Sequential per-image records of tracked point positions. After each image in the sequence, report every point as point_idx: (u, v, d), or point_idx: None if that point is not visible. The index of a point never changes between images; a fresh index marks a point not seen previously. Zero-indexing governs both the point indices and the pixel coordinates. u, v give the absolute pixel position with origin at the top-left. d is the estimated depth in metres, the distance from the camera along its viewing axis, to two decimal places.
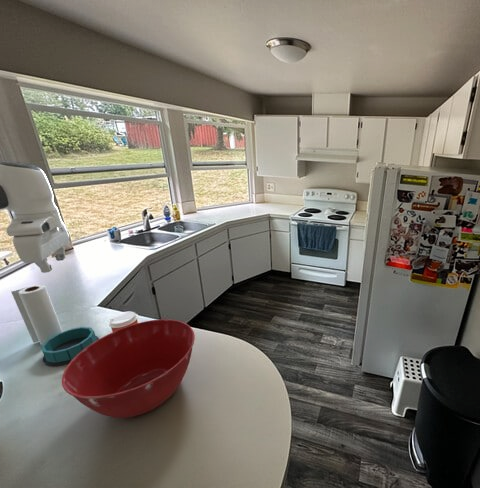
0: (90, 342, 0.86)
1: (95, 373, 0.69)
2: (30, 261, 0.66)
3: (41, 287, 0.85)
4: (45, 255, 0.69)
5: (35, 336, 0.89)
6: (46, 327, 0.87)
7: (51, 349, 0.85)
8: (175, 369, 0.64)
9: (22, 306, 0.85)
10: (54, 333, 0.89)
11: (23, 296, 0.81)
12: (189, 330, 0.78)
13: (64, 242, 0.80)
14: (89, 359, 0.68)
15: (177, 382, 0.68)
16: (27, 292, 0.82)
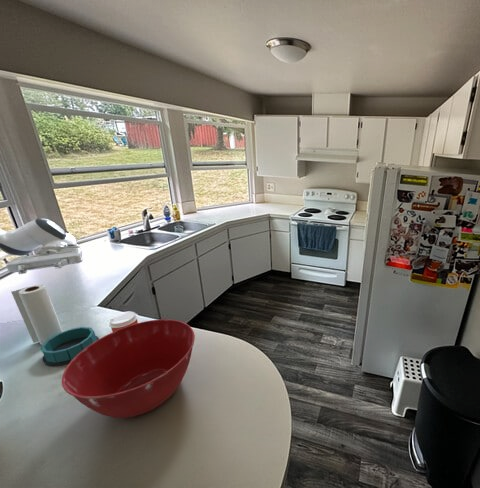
0: (90, 342, 0.86)
1: (95, 373, 0.69)
2: (79, 258, 1.00)
3: (41, 287, 0.85)
4: None
5: (35, 336, 0.89)
6: (46, 327, 0.87)
7: (51, 349, 0.85)
8: (175, 369, 0.64)
9: (22, 306, 0.85)
10: (54, 333, 0.89)
11: (23, 296, 0.81)
12: (189, 330, 0.78)
13: None
14: (89, 359, 0.68)
15: (177, 382, 0.68)
16: (27, 292, 0.82)
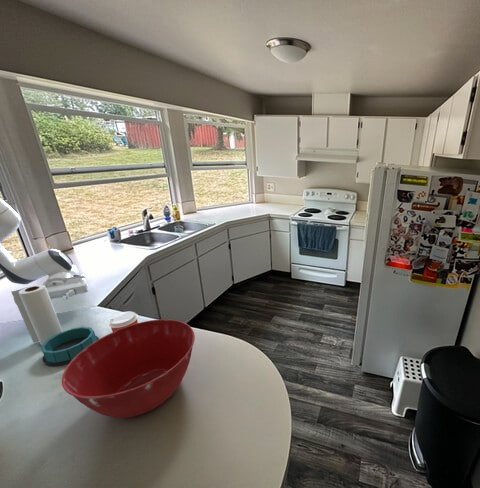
0: (90, 342, 0.86)
1: (95, 373, 0.69)
2: (85, 288, 1.03)
3: (41, 287, 0.85)
4: None
5: (35, 336, 0.89)
6: (46, 327, 0.87)
7: (51, 349, 0.85)
8: (175, 369, 0.64)
9: (22, 306, 0.85)
10: (54, 333, 0.89)
11: (23, 296, 0.81)
12: (189, 330, 0.78)
13: None
14: (89, 359, 0.68)
15: (177, 382, 0.68)
16: (27, 292, 0.82)
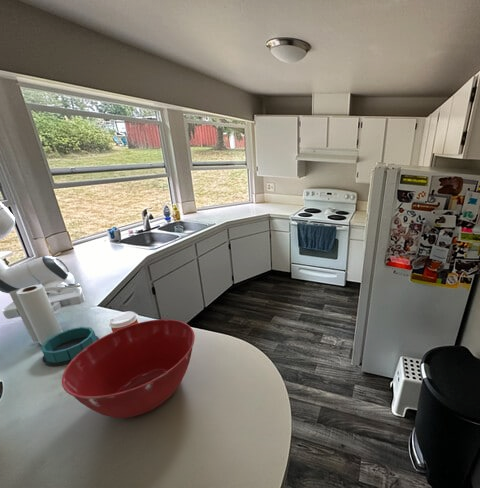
0: (90, 342, 0.86)
1: (95, 373, 0.69)
2: (81, 298, 0.96)
3: (39, 287, 0.85)
4: None
5: (35, 336, 0.89)
6: (45, 327, 0.86)
7: (51, 349, 0.85)
8: (175, 369, 0.64)
9: (20, 306, 0.84)
10: (53, 333, 0.89)
11: (21, 296, 0.81)
12: (189, 330, 0.78)
13: None
14: (89, 359, 0.68)
15: (177, 382, 0.68)
16: (25, 292, 0.82)
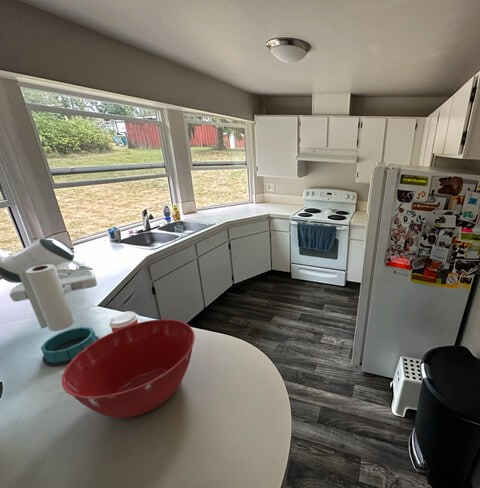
0: (90, 342, 0.86)
1: (95, 373, 0.69)
2: (94, 281, 0.88)
3: (50, 267, 0.77)
4: None
5: (43, 321, 0.81)
6: (55, 311, 0.79)
7: (51, 349, 0.85)
8: (175, 369, 0.64)
9: (29, 287, 0.77)
10: (64, 318, 0.81)
11: (31, 276, 0.73)
12: (189, 330, 0.78)
13: None
14: (89, 359, 0.68)
15: (177, 382, 0.68)
16: (35, 271, 0.74)
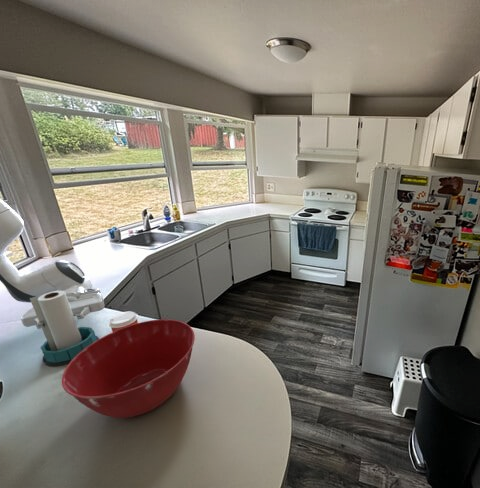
0: (90, 342, 0.86)
1: (95, 373, 0.69)
2: (102, 304, 0.91)
3: (61, 293, 0.80)
4: None
5: (54, 345, 0.84)
6: (66, 336, 0.82)
7: None
8: (175, 369, 0.64)
9: (41, 313, 0.80)
10: (74, 342, 0.84)
11: (43, 303, 0.76)
12: (189, 330, 0.78)
13: None
14: (89, 359, 0.68)
15: (177, 382, 0.68)
16: (47, 299, 0.77)
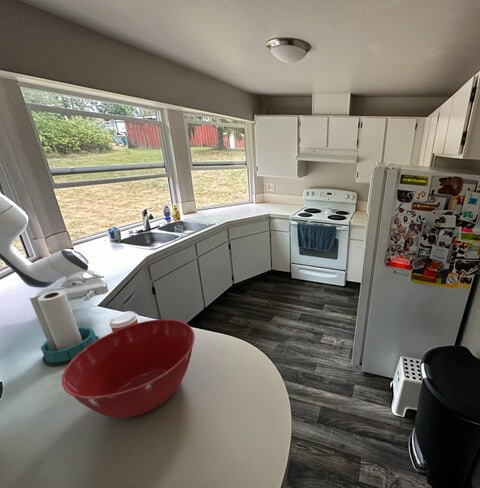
0: (90, 342, 0.86)
1: (95, 373, 0.69)
2: (106, 288, 0.99)
3: (61, 293, 0.80)
4: None
5: (54, 345, 0.84)
6: (66, 336, 0.82)
7: None
8: (175, 369, 0.64)
9: (41, 313, 0.80)
10: (74, 342, 0.84)
11: (43, 303, 0.76)
12: (189, 330, 0.78)
13: None
14: (89, 359, 0.68)
15: (177, 382, 0.68)
16: (47, 299, 0.77)
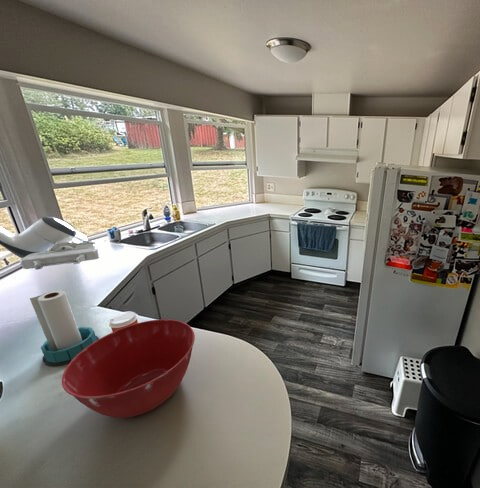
0: (90, 342, 0.86)
1: (95, 373, 0.69)
2: (96, 254, 0.96)
3: (61, 293, 0.80)
4: None
5: (54, 345, 0.84)
6: (66, 336, 0.82)
7: None
8: (175, 369, 0.64)
9: (41, 313, 0.80)
10: (74, 342, 0.84)
11: (43, 303, 0.76)
12: (189, 330, 0.78)
13: None
14: (89, 359, 0.68)
15: (177, 382, 0.68)
16: (47, 299, 0.77)
